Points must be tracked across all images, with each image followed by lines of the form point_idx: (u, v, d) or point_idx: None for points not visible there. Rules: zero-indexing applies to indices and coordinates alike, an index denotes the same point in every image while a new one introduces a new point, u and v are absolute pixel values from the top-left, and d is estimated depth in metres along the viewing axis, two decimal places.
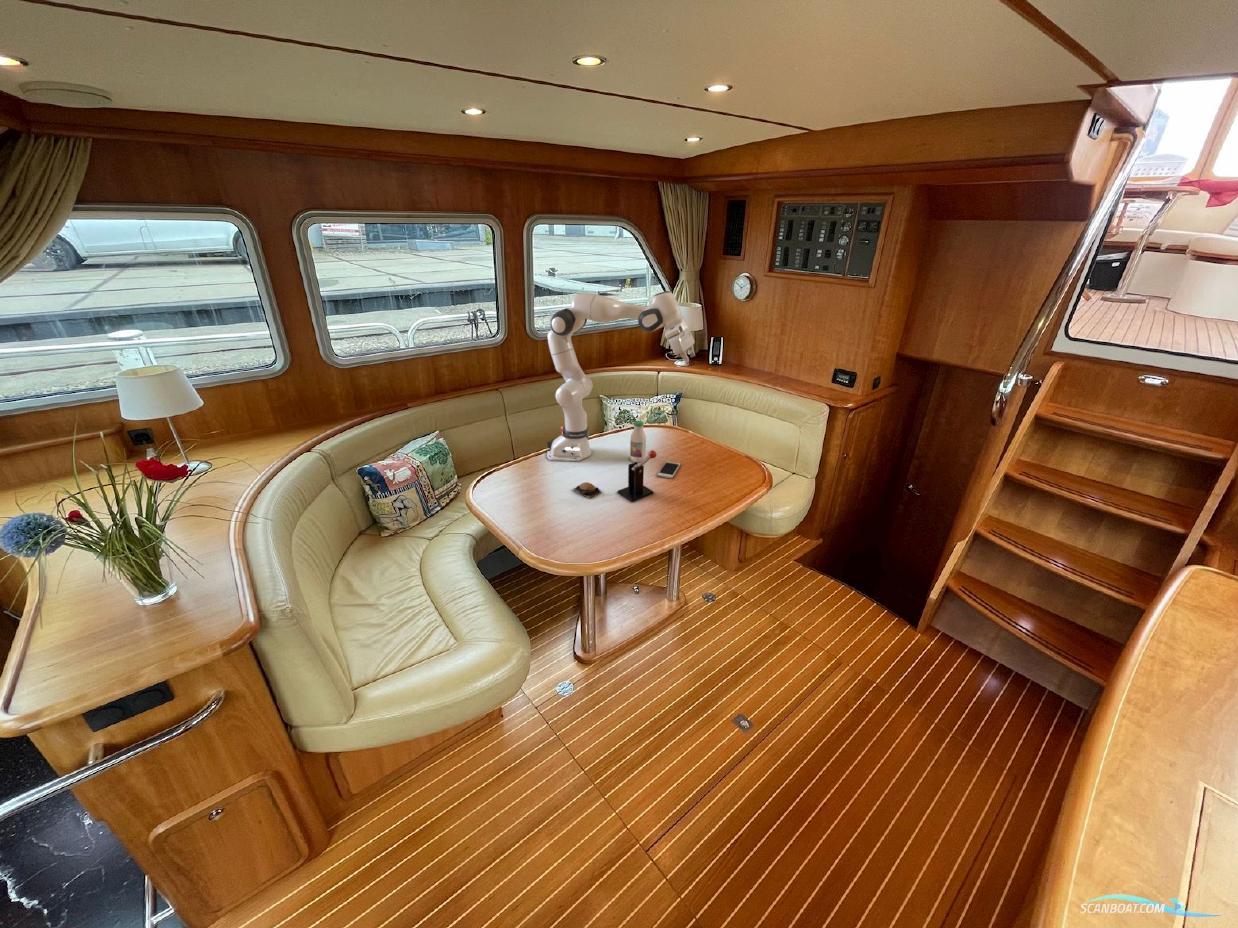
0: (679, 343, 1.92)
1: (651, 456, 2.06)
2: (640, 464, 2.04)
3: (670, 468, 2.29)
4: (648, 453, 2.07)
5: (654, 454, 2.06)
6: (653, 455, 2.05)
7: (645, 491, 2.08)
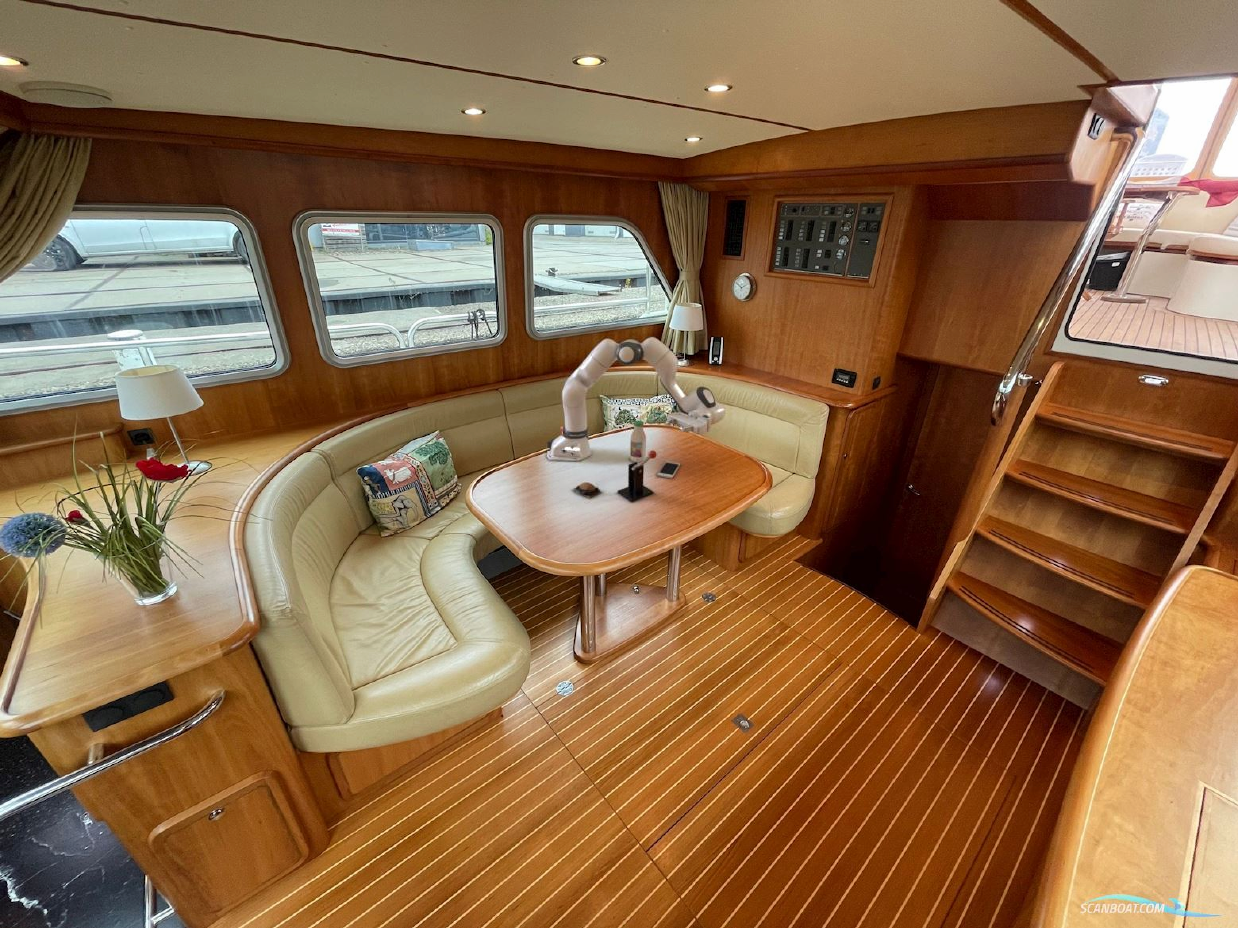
0: (703, 432, 2.08)
1: (651, 456, 2.06)
2: (640, 464, 2.04)
3: (670, 468, 2.29)
4: (648, 453, 2.07)
5: (654, 454, 2.06)
6: (653, 455, 2.05)
7: (645, 491, 2.08)
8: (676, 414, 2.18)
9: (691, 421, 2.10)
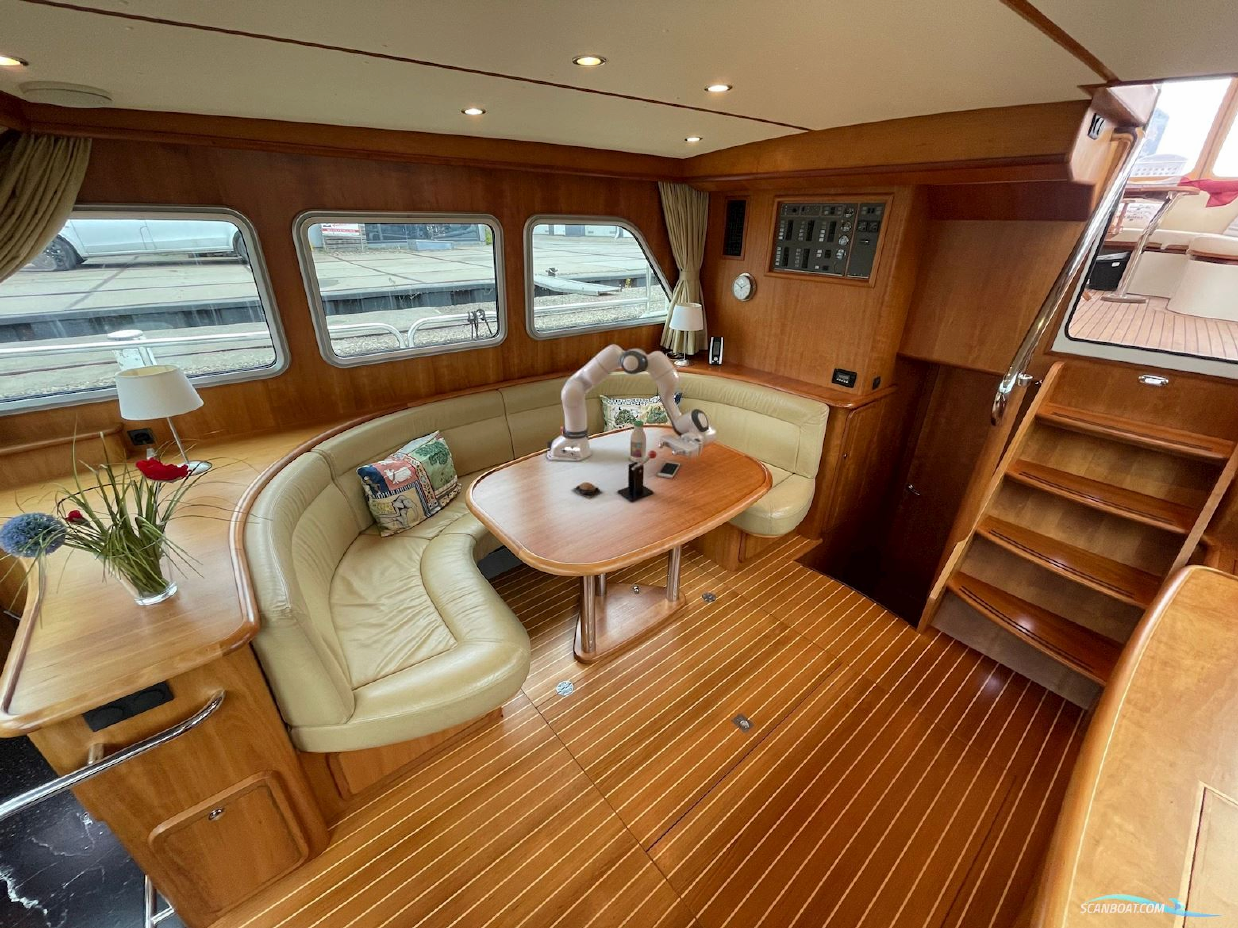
0: (695, 456, 2.10)
1: (651, 456, 2.06)
2: (640, 464, 2.04)
3: (670, 468, 2.29)
4: (648, 453, 2.07)
5: (654, 454, 2.06)
6: (653, 455, 2.05)
7: (645, 491, 2.08)
8: (668, 437, 2.20)
9: (683, 444, 2.12)
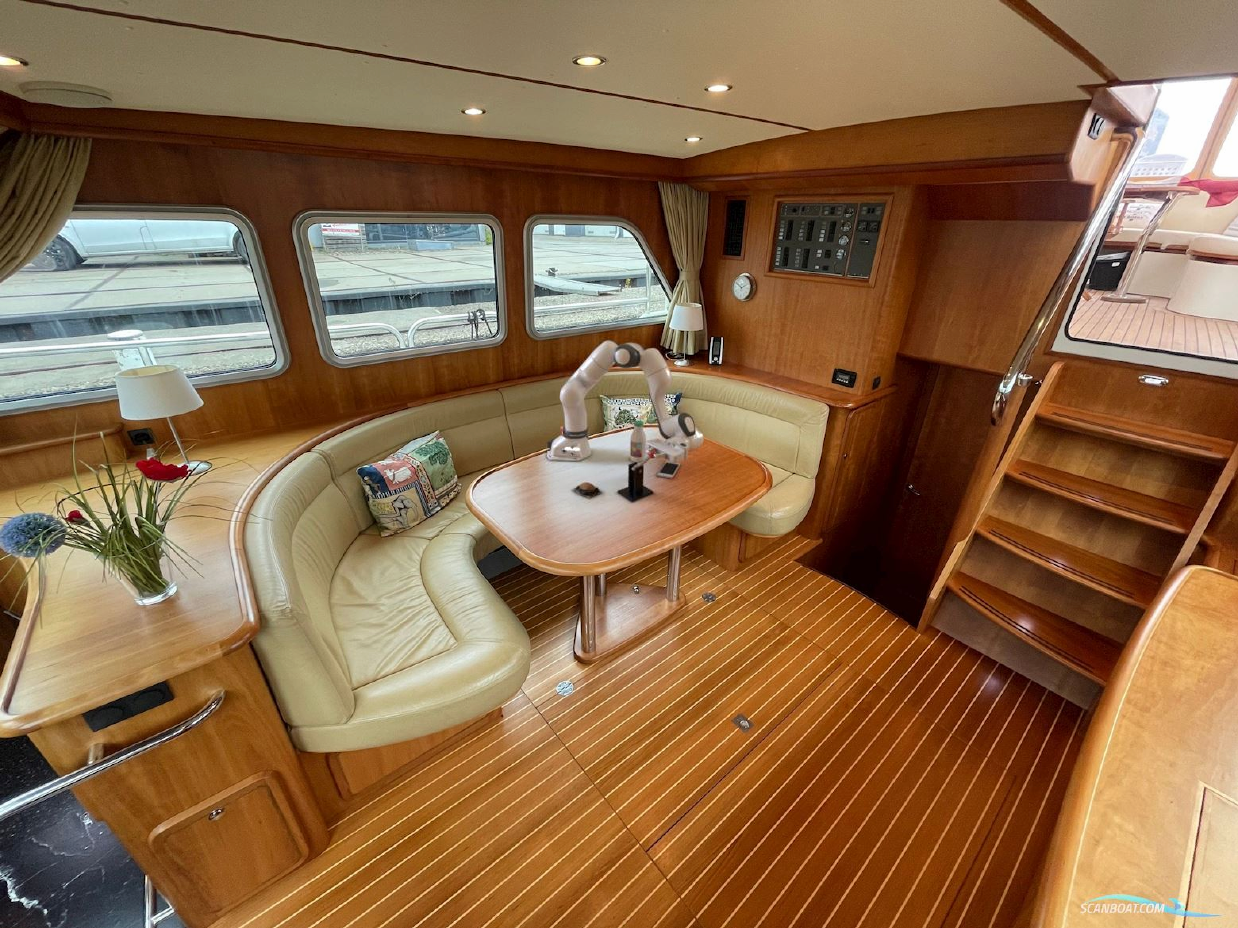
0: (680, 461, 2.05)
1: (651, 456, 2.06)
2: (640, 464, 2.04)
3: (670, 468, 2.29)
4: (648, 453, 2.07)
5: None
6: (653, 455, 2.05)
7: (645, 491, 2.08)
8: (654, 441, 2.15)
9: (668, 449, 2.07)
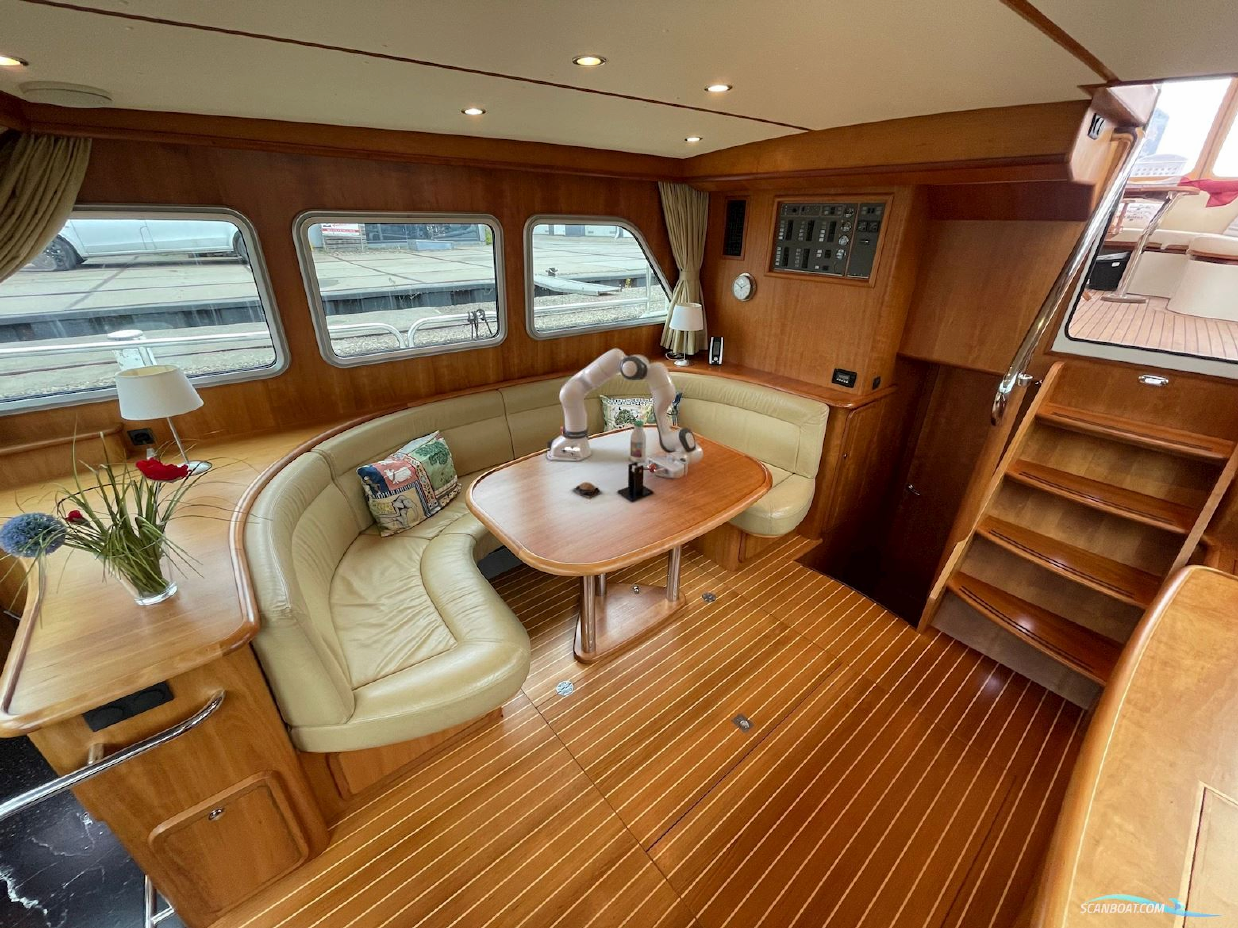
0: (680, 476, 2.09)
1: (652, 468, 2.09)
2: None
3: None
4: (650, 465, 2.10)
5: (655, 468, 2.09)
6: (654, 468, 2.09)
7: (645, 491, 2.08)
8: (654, 456, 2.19)
9: (668, 464, 2.11)
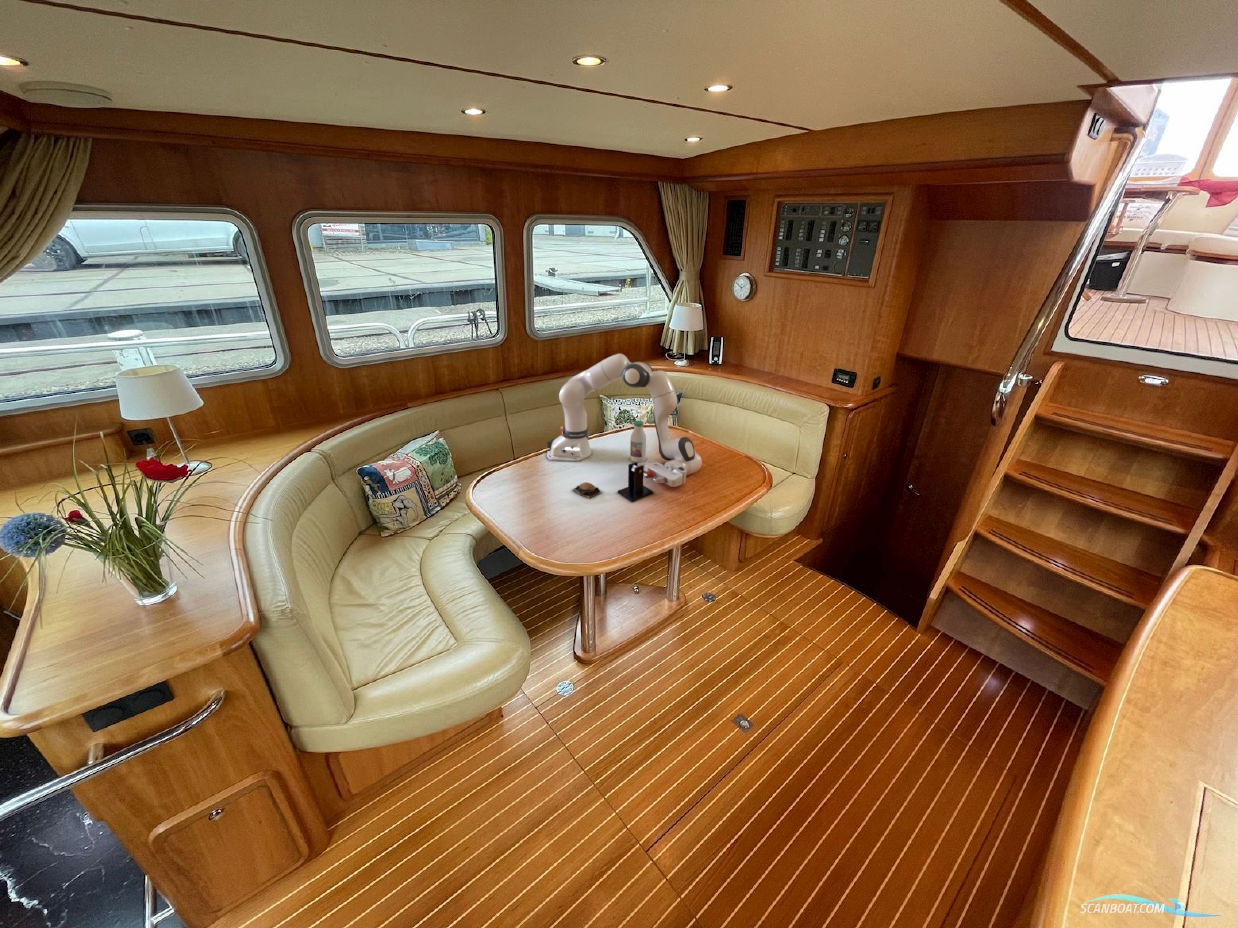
0: (678, 485, 2.10)
1: (650, 473, 2.09)
2: None
3: None
4: None
5: (654, 473, 2.10)
6: (653, 473, 2.09)
7: (645, 491, 2.08)
8: (653, 464, 2.20)
9: (667, 473, 2.12)
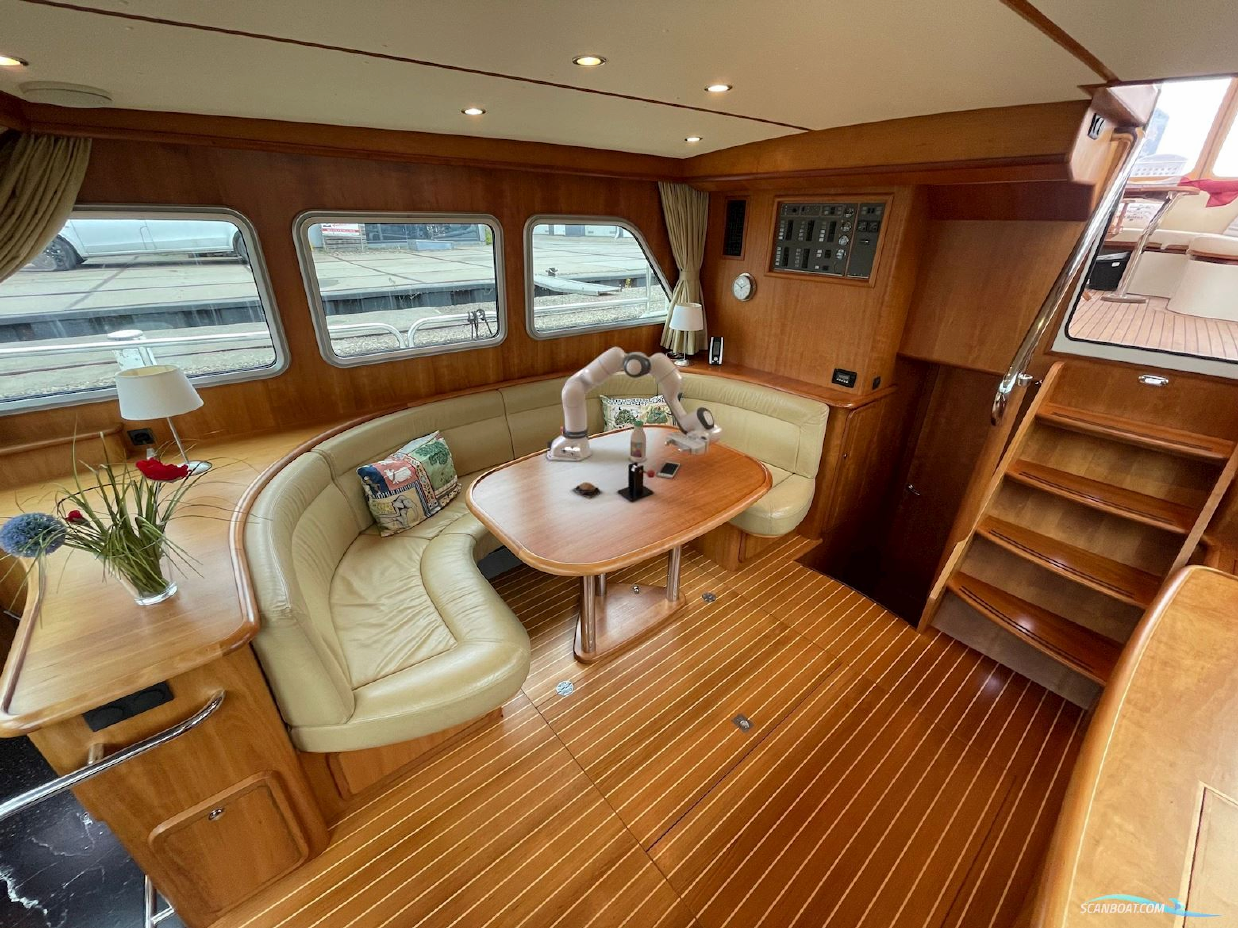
0: (701, 453, 2.12)
1: (650, 473, 2.09)
2: None
3: (670, 468, 2.29)
4: None
5: (654, 473, 2.10)
6: (653, 473, 2.09)
7: (645, 491, 2.08)
8: (675, 434, 2.22)
9: (689, 442, 2.14)
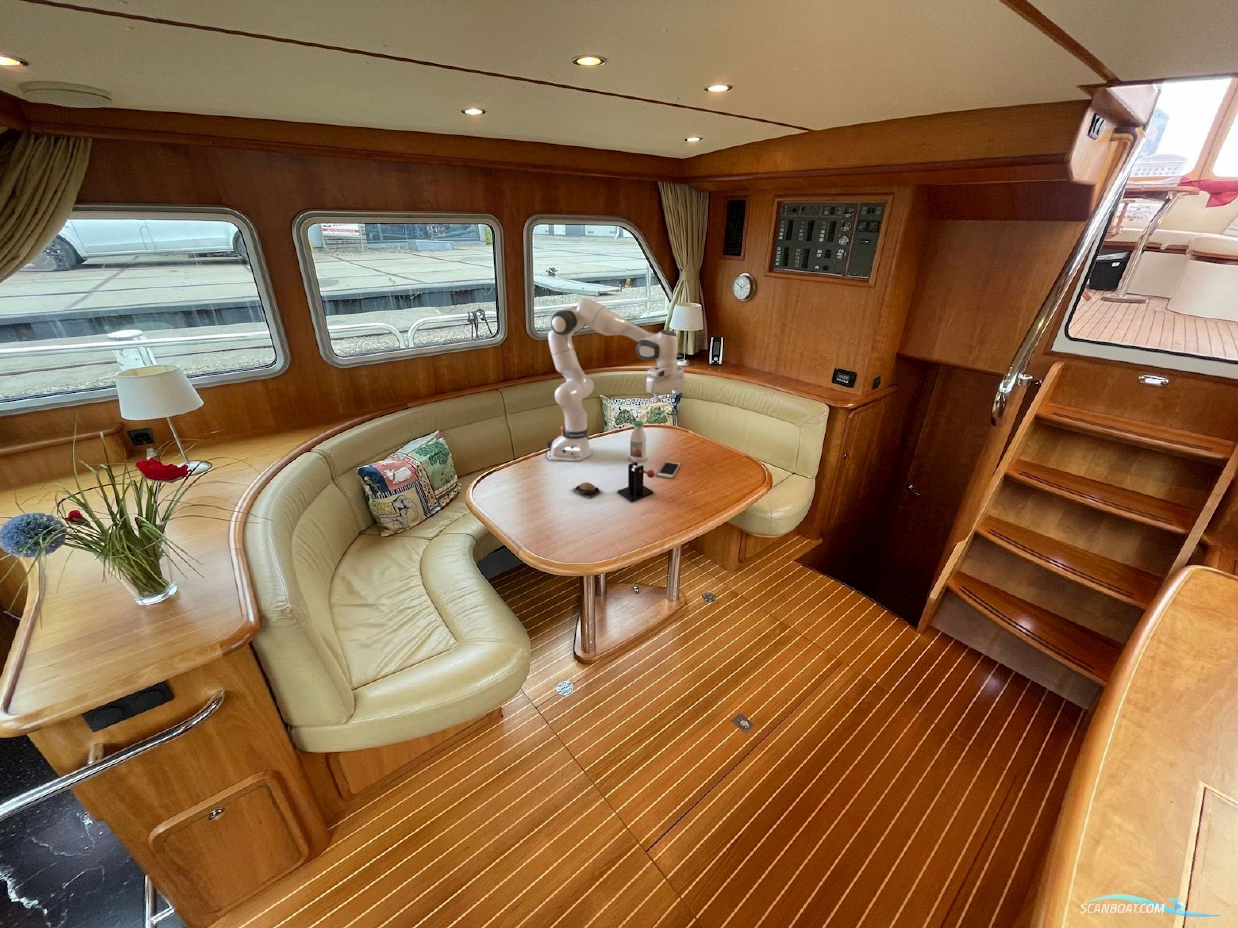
0: (651, 385, 2.05)
1: (650, 473, 2.09)
2: None
3: (670, 468, 2.29)
4: None
5: (654, 473, 2.10)
6: (653, 473, 2.09)
7: (645, 491, 2.08)
8: None
9: None
